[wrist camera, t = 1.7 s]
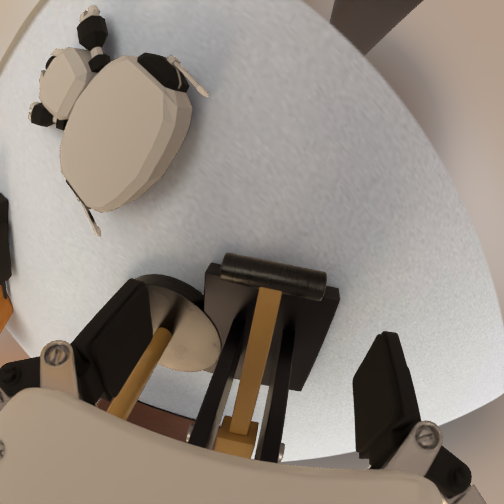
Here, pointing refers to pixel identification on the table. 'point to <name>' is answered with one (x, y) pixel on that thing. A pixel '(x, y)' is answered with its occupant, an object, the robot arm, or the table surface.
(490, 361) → the table surface
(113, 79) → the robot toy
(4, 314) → the flower pot
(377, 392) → the robot arm
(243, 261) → the switch lever
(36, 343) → the table surface
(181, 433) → the letter holder
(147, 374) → the desk lamp
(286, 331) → the black pivot bracket
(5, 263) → the walkie-talkie
